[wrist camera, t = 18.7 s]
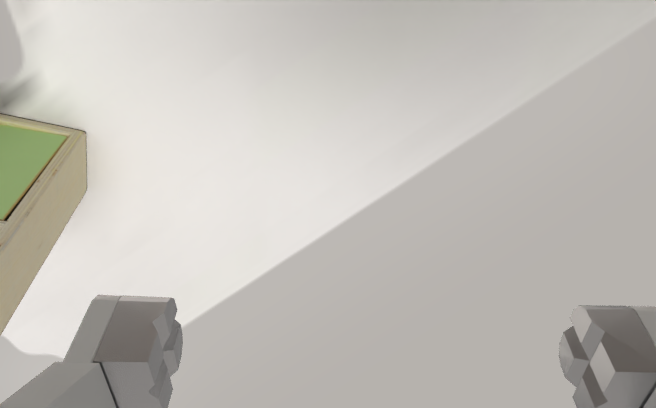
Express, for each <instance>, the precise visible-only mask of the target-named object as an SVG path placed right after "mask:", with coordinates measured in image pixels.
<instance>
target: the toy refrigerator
mask: <svg viewBox="0 0 656 408" xmlns="http://www.w3.org/2000/svg"><path fill="white" fill-rule="evenodd" d="M86 167H87V163H86V133H85V132H83V131H80V130H75V129H71V128H66V127H61V126H56V125H51V124H46V123H41V122H36V121H32V120H27V119H22V118H17V117H13V116H8V115H3V114H0V335H1V334H2V332H3V330H4V329H5V327H6V325H7V324H8V322H9V320H10V319H11V317H12V315H13V313H14V312H15V310H16V308H17V307H18V305H19V303H20V302H21V300H22V298H23V297H24V295H25V293H26V292H27V290H28V288H29V286H30V285H31V283H32V281H33V280H34V278H35V276H36V275H37V273H38V271H39V270H40V268H41V266H42V265H43V263H44V261H45V260H46V258H47V257H48V255H49V253H50V251H51V250H52V248H53V246H54V245H55V243H56V241H57V240H58V238H59V236H60V235H61V233H62V231H63V230H64V228H65V226H66V224H67V223H68V221H69V220H70V218H71V216H72V214H73V213H74V211H75V209H76V208H77V206H78V204H79V203H80V201H81V199H82V198H83V196H84V194H85V192H86V190H87V170H86Z"/></svg>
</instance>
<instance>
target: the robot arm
mask: <svg viewBox="0 0 656 408" xmlns="http://www.w3.org/2000/svg"><path fill="white" fill-rule="evenodd" d="M176 312H177V307H176V303H175V300H174V298H166V297H145V296H115V295H97V296H96V297H95V298H94V299H93V300H92V301H91V304H90V306H89V308H88V310H87V312H86V314H85V316H84V318H83V320H82V323H81V325H80V327H79V329H78V331H77V333H76V335H75V337H74V339H73V341H72V344H71V346H70V348H69V350H68V352H67V354H66V356H65V358H64V360H63V362H55V363H53V364H52V365H51V366H49V367H48V368H47V369H45V370H44V371H43V372H42V373H40V374H39V375H38V376H36V377H35V378H34V379H32V380H31V381H30V382H28V383H27V384H26V385H25V386H23V387H22V388H21V389H19V390H18V391H17V392H15V393H14V394H13V395H11V396H10V397H9V398H7V399H6V400H5V401H4V402H2V403H1V404H0V408H168V405H169V401H170V397H171V394H172V390H173V388H172V384H171V380H170V376H172V375H173V374H174V373H175V372H176V371H177V370H178V368H179V364H180V360H181V354H182V344H183V339H182V329H181V324H179V323H178V322H177V321H176V320H175V316H176ZM570 319H571V322H572V324H573V326H572V327H571V328H569V329H568V330H566V331H565V332H563V335H562V338H561V341H560V343H559V358H560V363H561V368H562V370H563V373H564V376H565V378H566V379H567V380H569V381H570V382H571V383H572V384H573V385H574V386H576V387H577V388H576V390H575V393H574V395H573V399H574V402H575V404H576V407H577V408H656V307H652V306H647V307H646V306H628V307H627V306H590V305H579V306H577V307H576V308H575V309H574V310H573V312H572V314H571V317H570Z"/></svg>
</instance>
